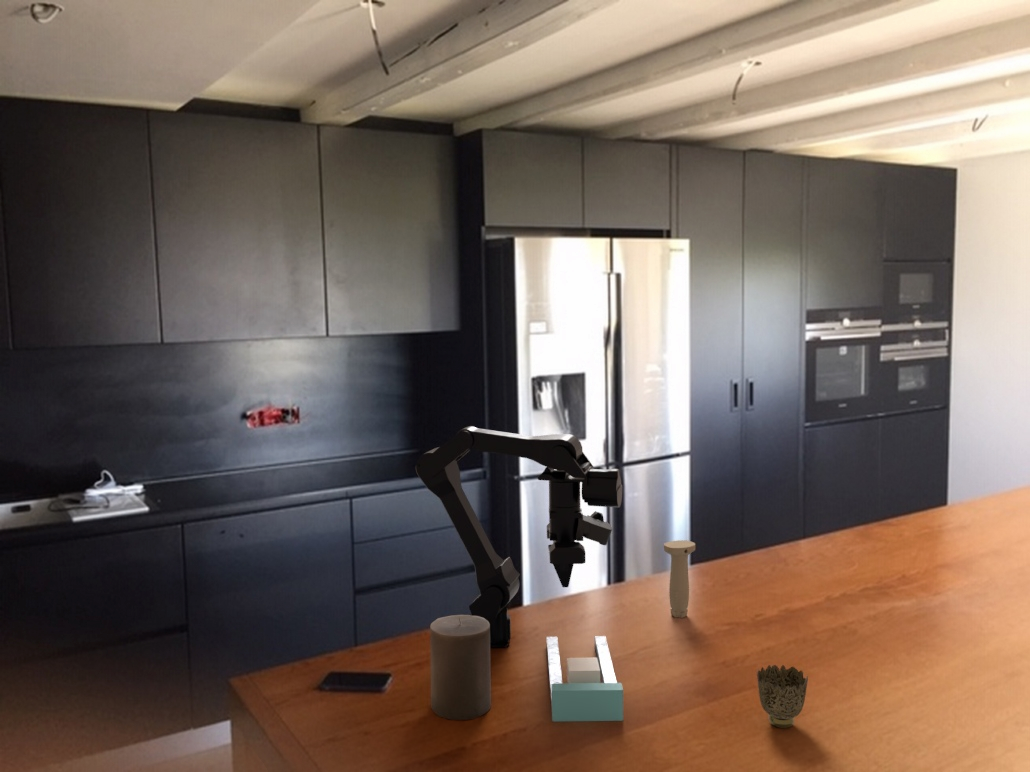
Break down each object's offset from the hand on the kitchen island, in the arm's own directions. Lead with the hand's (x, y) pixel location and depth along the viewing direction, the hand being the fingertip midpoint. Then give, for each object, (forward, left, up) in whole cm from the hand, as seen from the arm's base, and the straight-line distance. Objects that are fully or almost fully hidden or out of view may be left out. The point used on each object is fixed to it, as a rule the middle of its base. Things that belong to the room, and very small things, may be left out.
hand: (565, 586), depth 164 cm
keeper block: (+2, -20, -12) cm, 23 cm away
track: (+2, -13, -12) cm, 18 cm away
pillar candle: (-18, -22, -12) cm, 31 cm away
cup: (+32, -29, -12) cm, 45 cm away
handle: (+24, +16, -12) cm, 31 cm away
